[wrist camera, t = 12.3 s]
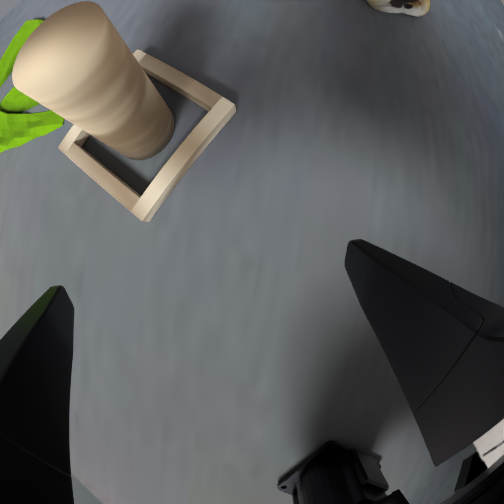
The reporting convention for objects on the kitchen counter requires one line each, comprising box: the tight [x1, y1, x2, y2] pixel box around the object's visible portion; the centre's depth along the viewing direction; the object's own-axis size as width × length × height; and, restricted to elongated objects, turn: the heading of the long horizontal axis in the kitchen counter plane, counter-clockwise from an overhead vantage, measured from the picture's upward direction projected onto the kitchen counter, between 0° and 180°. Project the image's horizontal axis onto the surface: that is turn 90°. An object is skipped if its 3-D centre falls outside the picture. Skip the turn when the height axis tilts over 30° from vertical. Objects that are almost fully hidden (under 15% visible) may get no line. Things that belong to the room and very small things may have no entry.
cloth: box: [0, 19, 64, 153], centre depth 17 cm, size 20×22×2 cm
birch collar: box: [58, 49, 236, 222], centre depth 18 cm, size 9×9×1 cm
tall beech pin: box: [12, 1, 175, 160], centre depth 13 cm, size 4×4×11 cm
